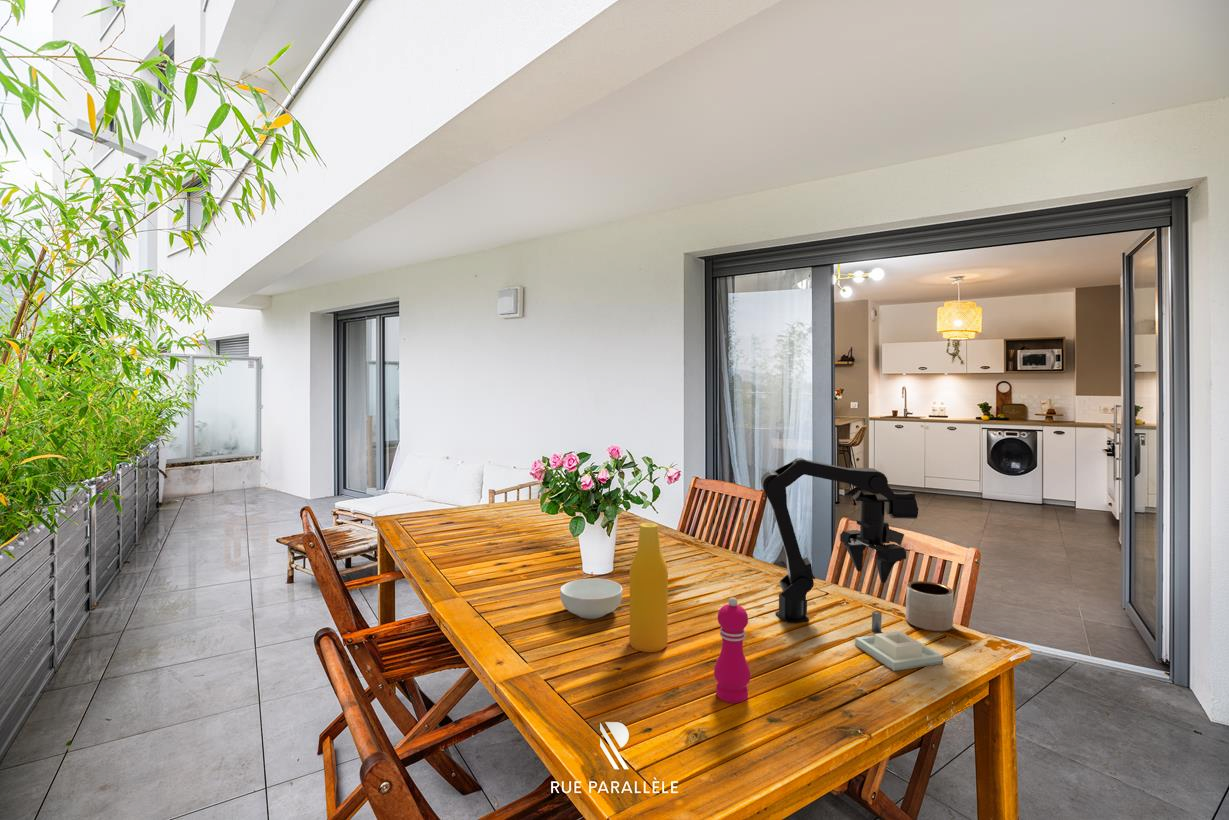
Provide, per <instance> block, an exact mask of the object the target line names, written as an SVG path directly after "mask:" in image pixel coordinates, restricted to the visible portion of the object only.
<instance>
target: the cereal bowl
mask: <svg viewBox="0 0 1229 820" xmlns="http://www.w3.org/2000/svg"><path fill="white" fill-rule="evenodd" d="M623 591H624V590H623V586H622V585H621V584H620V583H619V582H616V581H614V580H610V579H606V578H605V579H604V578H594V577H593V578H582V579H580V578H579V579H575V580H572V581H571V580H570V581H568V582H566V583H565V584H563V585H562V586H561V587H560V589H559V593H560V595H559V596H560V601H561V604H562V605H563V607H564V608H565V609H566V610H567V611H569V612H570V613H571V614H573V615H576V616H578V617H580V618H583V619H588V620H595V619H599V618H602V617H604V616H606V615H608V614H610V613H612V612H614V611H615V610H616V609H617V608H618V607H619V606H620V604H621V602H622V599H623Z"/></svg>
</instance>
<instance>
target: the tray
mask: <svg viewBox="0 0 1229 820" xmlns="http://www.w3.org/2000/svg"><path fill="white" fill-rule="evenodd" d="M854 646H856V647H858V648H859V649H860V650H861V651H863V652H865V654H868V655H869V656H870V657H872V658H873V659H875V660H877V662H879V663H881V664H883V665H884V666H885V667H887V668H888V669H890V670H892V671H893V672H898V671H902V670H903V671H904V670H910V669H916V668H922V667H929V666H936V665H942V664H944V655H942V654H941V653H939V652H937V651H935V650H934V649H932V648H930V647H929V646H927V645H925V644H923V643H922V656H921V657H914V658H907V659H901V660H895V659H893V658H892V657H890V656H888V655H887V654H885V653H884V652H882V651H881V650H879V649H878V648H876V647H874V646H875V634H874V635H865V636H859V637H855V639H854Z"/></svg>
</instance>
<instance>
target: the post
mask: <svg viewBox="0 0 1229 820" xmlns="http://www.w3.org/2000/svg"><path fill="white" fill-rule="evenodd" d="M882 615H883V613H882V612H880V611H872V612H871V631H872V632H874V633H876V634H879V633H882Z"/></svg>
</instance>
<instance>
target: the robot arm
mask: <svg viewBox="0 0 1229 820" xmlns="http://www.w3.org/2000/svg"><path fill="white" fill-rule="evenodd" d="M803 475H805V476H810V477H814V478H819V479H820V478H821V479H824V480H829V481H835V482H839V483H844V484H848V485H851V486H853V487H856V488H857V489H860V490H858V491H857V492H856V493H855V494H853V495H852V499H853V500H854V501H856V502H860V519H857V520H856V525H858V526H860V527H859V529H860V530H858V529H850V530H842V531H841V533H840V534H839V541H840V542H841V543H842V545H843V546H844V547H845V549H846V551H847V553H848V555H849V556H850V559H851V560H852V563H853V565H854V567H855V570H856V571H857V572H858V573H859V572H862V570H863V564H864V563H863V562H864V551H865V550H866V548H867V547H868V548H871V549H873V550H875V554H876V556H877V557H875V562H876V563H875V564H876V566H877V567H876V568H877V570H878V571H877V572H878V576H879V581H880V583H881V584H886V583H887V581H888V578H889V575H890V573H891V571H892V569H893V567H894V566H895V564H896V563H898V562H901V561H902V560H907V555H908V554H907V552H908V551H907V550H906V548H905V547H903V546H902V543H903V540H904V537H905V533H903V532H900V531H897V530H894V529H891V528H890V525H889V523H888V522H885V514H886V515H889V517H890V518H891V519H894V520H895V519H896V520H898V519H900V520H916V519H917V518H918V517H919V516H918V515H919V507H918V503H917V500H916V494H915V492H914V493H913V492H910V491H907V492H894V490H892V489H891V488H890V486H889V481H888V478H887V476H886V475H885V474H884V473H883V472H881V471H879V470H877V469H876V468H872V467H871V468H869V467H853V468H852V467H843V466H839V465H833V464H828V463H824V462H820V461H819V462H818V461H813V460H808V459H805V458H803V457H796V458H795V459H794V460H792V461H791V462H789V463H787V464H785V465H783V466H781V467H778V468H777V469H776V470H774V471H773V470H771V471H766V472H765V473H764V474H762V476H761V478H760V484H761V487H762V490H763V491H764V493H765V496H766V497H767V499H768V501H769V504H770V505H771V507H772V511H773V514H774V517H775V522H776V524H777V528H778V531H779V535H780V538H781V542H782V544H783V545H782V546H783V548H784V552H785V557H786V571H787V574H786V575H785V576H784V577H782V578H781V579H780V580H779V585H780V587H781V591H782V592H780V593H779V592H778V611H775V615H777V616H778V617H779V618H781V620H784V621H785V622H786V623H796V622H797V623H798V622H804V621H805V622H806V621H809V620H810V617H808V616H807V615H808V600H807V594H808V593H809V592H810V591H811V590H812V589H813V587H814V583H815V581H814V580H816V576H815V575H814V573H813V568H812V563H811V561H810V559H809V558H808V557H804V558H803V556H802V554H801V553H802V552H801V550H800V548H799V543H798V540H797V539H798V538H797V536H796V532H795V530H794V529H795V528H794V526H793V522H792V519H791V516H790V512H789V508H788V499H787V498H788V497H787V496H788V495H787V487H789V486H790V485H792V484H793V483H794V482H795V481H796V480H798V479H799V478H801V477H802V476H803ZM861 490H863V491H866V492H867V493H864V492H863V491H861ZM878 494H880V495H882V496H883V497H880V496H879V497H878V496H877V495H878Z"/></svg>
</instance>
